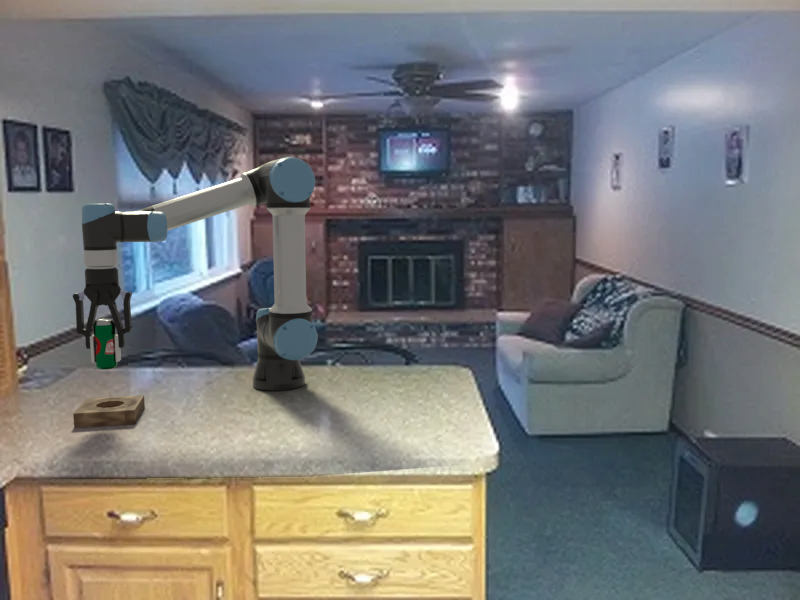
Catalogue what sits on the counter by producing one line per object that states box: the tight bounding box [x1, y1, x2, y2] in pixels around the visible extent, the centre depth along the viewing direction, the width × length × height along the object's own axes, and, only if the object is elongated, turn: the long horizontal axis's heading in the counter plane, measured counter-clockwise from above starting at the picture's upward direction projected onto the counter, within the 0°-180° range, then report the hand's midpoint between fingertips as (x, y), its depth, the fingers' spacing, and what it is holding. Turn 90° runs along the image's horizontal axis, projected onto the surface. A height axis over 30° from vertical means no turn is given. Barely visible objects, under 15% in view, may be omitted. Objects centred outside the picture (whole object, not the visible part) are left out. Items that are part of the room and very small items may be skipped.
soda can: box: [93, 318, 118, 370], centre depth 181 cm, size 5×5×12 cm
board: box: [72, 395, 146, 429], centre depth 183 cm, size 14×14×4 cm
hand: (106, 360), depth 181 cm, fingers closed on soda can, 5 cm apart
